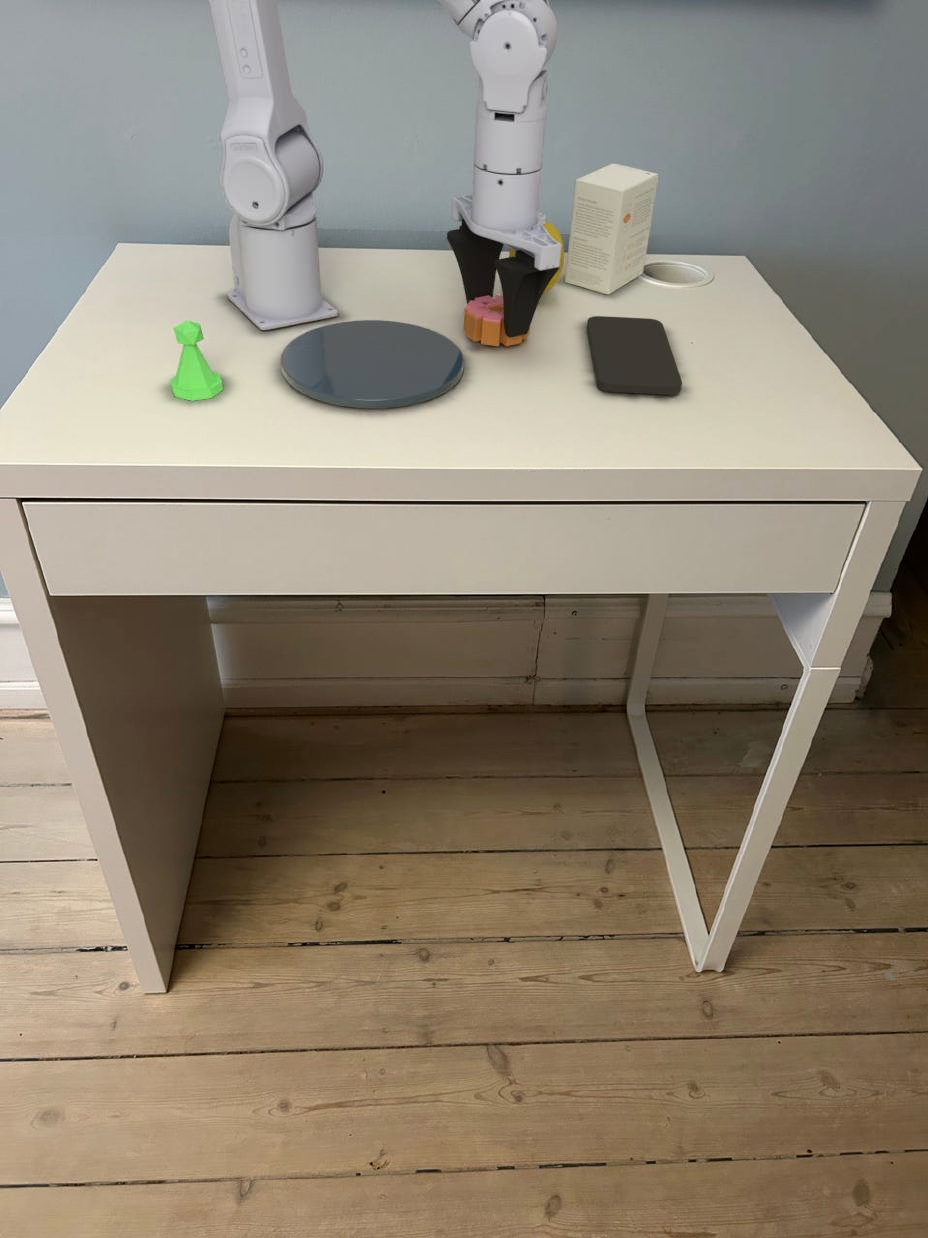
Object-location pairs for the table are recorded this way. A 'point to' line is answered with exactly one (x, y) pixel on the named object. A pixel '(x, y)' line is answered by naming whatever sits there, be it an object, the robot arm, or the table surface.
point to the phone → (632, 356)
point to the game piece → (193, 367)
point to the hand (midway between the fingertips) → (497, 321)
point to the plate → (372, 364)
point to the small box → (610, 227)
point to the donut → (488, 322)
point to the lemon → (557, 237)
